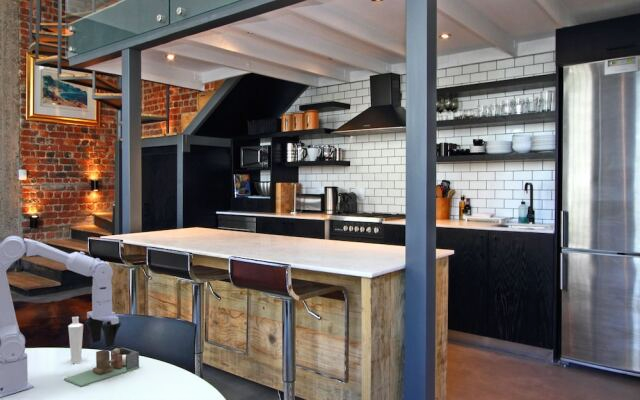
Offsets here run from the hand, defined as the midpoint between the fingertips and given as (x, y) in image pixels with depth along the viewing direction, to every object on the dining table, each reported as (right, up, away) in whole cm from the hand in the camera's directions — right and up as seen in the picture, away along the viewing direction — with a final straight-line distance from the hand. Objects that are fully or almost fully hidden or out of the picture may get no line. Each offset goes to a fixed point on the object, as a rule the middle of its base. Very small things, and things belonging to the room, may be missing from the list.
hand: (102, 343), depth 159 cm
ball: (+4, -7, +6) cm, 10 cm away
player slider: (+1, -9, +1) cm, 9 cm away
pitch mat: (0, -9, 0) cm, 9 cm away
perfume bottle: (-14, -10, +12) cm, 20 cm away
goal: (+4, -9, +6) cm, 12 cm away
